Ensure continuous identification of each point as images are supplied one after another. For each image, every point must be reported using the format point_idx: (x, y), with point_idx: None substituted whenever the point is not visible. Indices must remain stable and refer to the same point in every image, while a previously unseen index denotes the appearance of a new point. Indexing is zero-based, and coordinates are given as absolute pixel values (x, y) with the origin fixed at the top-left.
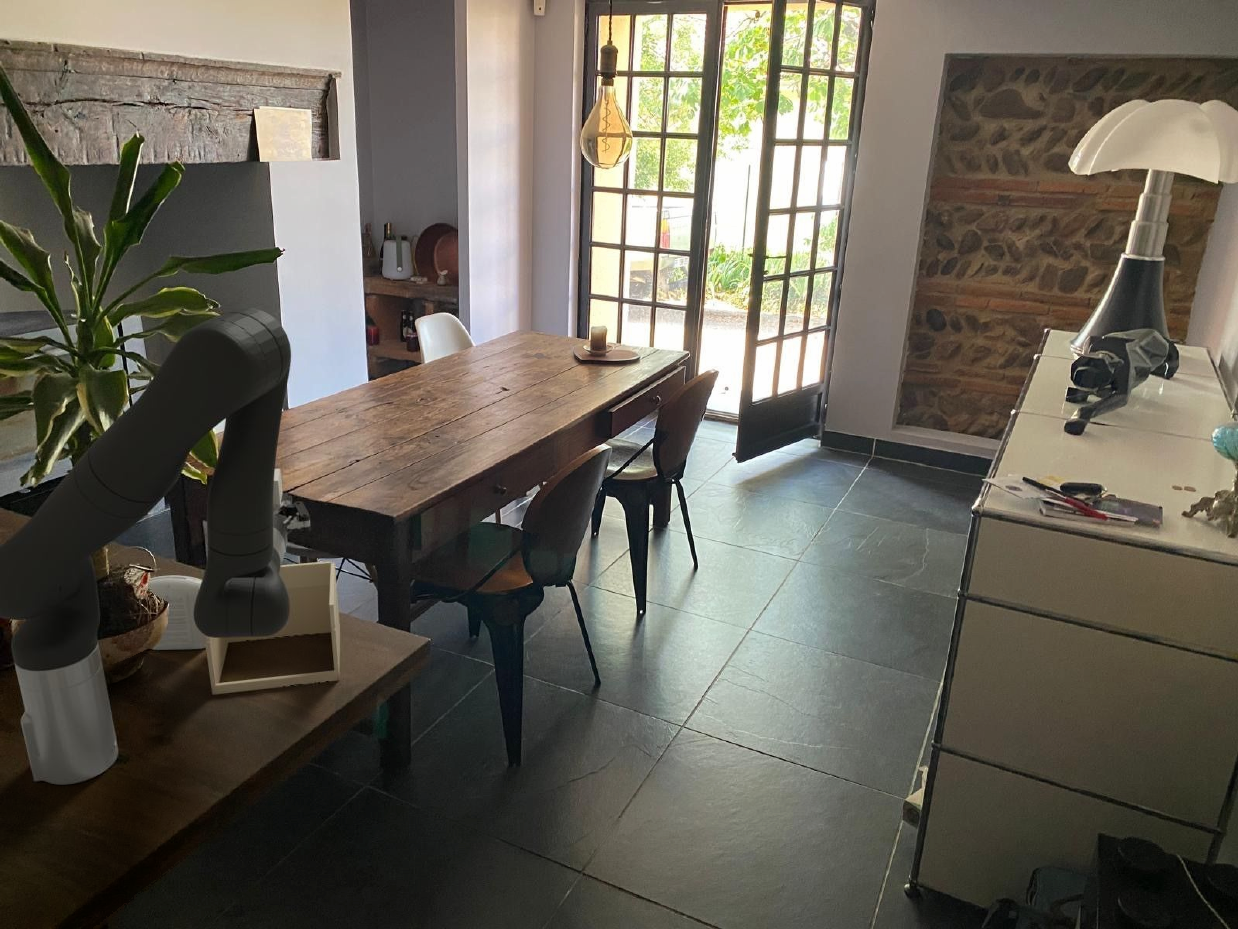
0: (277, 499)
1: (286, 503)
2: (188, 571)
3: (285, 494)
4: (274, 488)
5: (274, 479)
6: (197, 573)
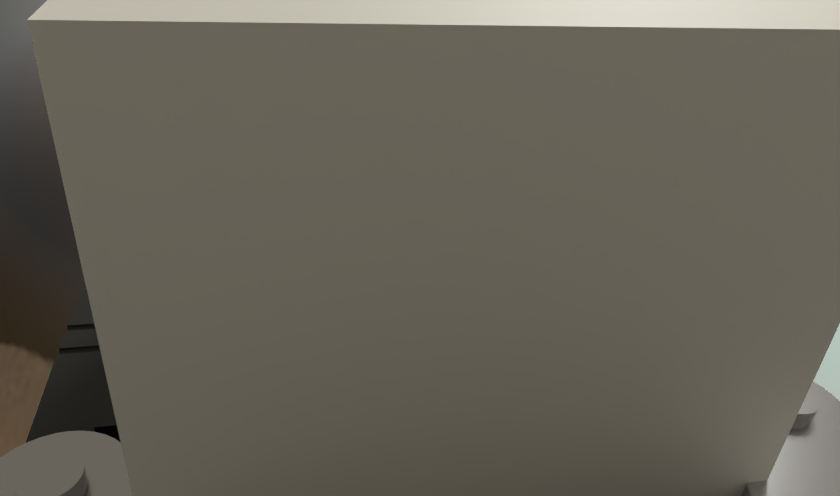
0: (761, 410)
1: (831, 446)
2: (18, 360)
3: None
4: (812, 215)
5: (828, 5)
6: (42, 369)
